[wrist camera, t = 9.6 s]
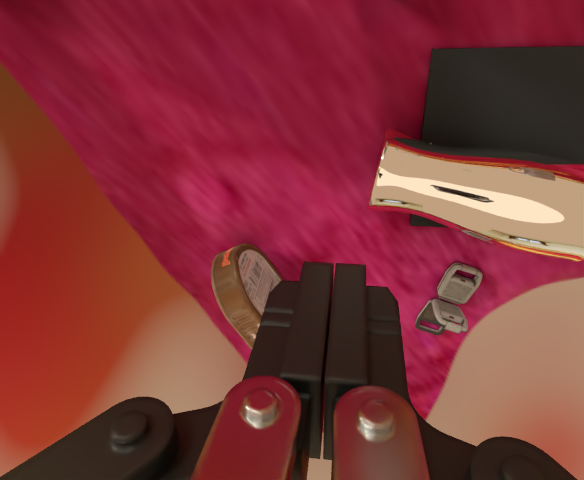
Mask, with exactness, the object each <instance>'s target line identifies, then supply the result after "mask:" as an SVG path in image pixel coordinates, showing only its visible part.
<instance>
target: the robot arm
mask: <svg viewBox="0 0 584 480" xmlns="http://www.w3.org/2000/svg"><path fill="white" fill-rule="evenodd" d="M333 270H334V264H333V263H323V262H306V261H304V263H303V267H302V272H301V276H300V281H299V282H298V281H282V280H281V281H280V282H279V283H278V284H277V285H276V286H275V287H274V288H273V290H272V291H271V292H270V293H269V294H268V298H267V301H266V304H265V308H264V312H263V314H262V318H261V321H260V325H259V328H258V331H257V334H256V338H255V341H254V344H253V348H252V351H251V354H250V358H249V361H248V364H247V368H246V371H245V375H244V377H243V380H242V381H241V382H240V383H238V384H237V385H235V386H234V387H233V388H232V389H231V390H230V391H229V392H228V394H227V395H226V396H225V398H224V400H223V401H221V402H219V403H218V404H215V405H213V406H210V407H206V408H202V409H197V410H192V411H187V412H182V413H177V414H172V412H171V410H170V408H169V407H168V406H167V405H166V404H165V403H164V402H162V401H161V400H159V399H156V398H152V397H136V398H132V399H128V400H125V401H123V402H120V403H118V404H116V405H115V406H113V407H111V408H110V409H108V410H106V411H105V412H103V413H102V414H100V415H99V416H97V417H95V418H94V419H92V420H90V421H89V422H87V423H86V424H84V425H82V426H81V427H79V428H78V429H76V430H74V431H73V432H71V433H70V434H68V435H67V436H65V437H63V438H62V439H60V440H59V441H57V442H55V443H54V444H52V445H51V446H49V447H47V448H46V449H44V450H43V451H41V452H40V453H38V454H36V455H35V456H33V457H31V458H30V459H28V460H27V461H25V462H24V463H22V464H20V465H19V466H17V467H16V468H14V469H13V470H11V471H9V472H8V473H6V474H4V475H3V476H1V477H0V480H307V471H308V461H309V458H317V459H320V453H321V441H322V430H323V419H324V451H323V458H324V459H328V460H332V472H331V480H577V479H576V478H575V477H574V476H573V475H571V474H570V473H569V472H568V471H567V470H566V469H564V468H563V467H562V466H561V465H560V464H558V463H557V462H556V461H555V460H554V459H553V458H551V457H550V456H549V455H548V454H547V453H545V452H544V451H542V450H541V449H539V448H537V447H536V446H534V445H532V444H530V443H528V442H526V441H523V440H520V439H516V438H512V437H493V438H490V439H487V440H485V441H483V442H482V443H480V444H479V445H478V446H477V447H476V446H474V445H472V444H469V443H467V442H464V441H462V440H459V439H456V438H454V437H452V436H449V435H447V434H445V433H442V432H440V431H439V430H437V429H436V428H434V427H432V426H431V425H430V424H428V423H427V422H426V421H425V420H424V419H423V418H422V417H421V416H420V415H419V414H418V412H417V411H416V410H415V408H414V407H413V405H412V403H411V401H410V398H409V394H408V388H407V379H406V370H405V361H404V352H403V343H402V336H401V325H400V316H399V307H398V301H397V300H396V299H395V297H394V296H393V294H392V293H391V292H390V290H389V289H388V287H378V286H366V265H360V264H343V263H336V267H335V278H334V288H333Z"/></svg>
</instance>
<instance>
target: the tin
mask: <svg viewBox="0 0 584 480" xmlns="http://www.w3.org/2000/svg"><path fill="white" fill-rule="evenodd" d="M281 280H282V281H284V280H283V279H282V278H281V276H280V275H279V273H278V272H277V270H276V269H275V268H274V266H273V265H272V264H271V262H270V261H269V259H268V258H267V257H266V256H265V255H264V254H263V252H261V251H260V250H259V249H258V248H257V247H255V246H253V245H251V244H240V245H237V246H235V247H233V248H231V249H229V250H227V251H223V252H220V253H219V254H217V255H216V257H215V258H214V260H213V263H212V267H211V281H212V287H213V291H214V294H215V297H216V300H217V302H218V305H219V307H220V309H221V311H222V312H223V314H224V316H225V317H226V319H227V320H228V321H229V323H230V324H231V325H232V326H233V328H234V329H235V330H236V331H237V332H238V334H239V335H240V336H241V337H242V339H243V340H244V341H245V342H246V343H247V345H248V346H249V347H250V348H251V350H252V348H253V344H254V341H255V338H256V334H257V331H258V328H259V325H260V321H261V318H262V314H263V312H264V308H265V304H266V301H267V298H268V294H269V293H270V292H271V291H272V290H273V288H274V287H275V286H276V285H277V284H278V283H279V282H280V281H281Z"/></svg>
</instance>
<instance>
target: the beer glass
mask: <svg viewBox="0 0 584 480" xmlns="http://www.w3.org/2000/svg"><path fill="white" fill-rule="evenodd" d="M367 209H369V210H376V211H393V212H403V213H409V214H414V215H418V216H421V217H424V218H428V219H430V220H433V221H435V222H438V223H440V224H443V225H445V226H448V227H450V228H452V229H455V230H457V231H459V232H462V233H464V234H467V235H469V236H471V237H474V238H476V239H479V240H482V241H485V242H487V243H490V244H493V245H496V246H500V247H504V248H507V249H511V250H515V251H520V252H525V253H530V254H535V255H541V256H547V257H554V258H560V259H566V260H570V261H581V260H584V165H583V164H580V163H576V162H572V161H569V160H565V159H562V158H557V157H553V156H549V155H545V154H539V153H533V152H528V151H519V150H508V149H492V148H466V147H449V146H442V145H436V144H431V143H427V142H424V141H421V140H418V139H415V138H413V137H410V136H408V135H405V134H403V133H401V132H398V131H395V130H393V129H387V131H386V134H385V137H384V141H383V144H382V148H381V152H380V156H379V159H378V163H377V167H376V171H375V175H374V179H373V183H372V187H371V191H370V195H369V199H368V204H367Z"/></svg>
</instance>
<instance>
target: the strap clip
mask: <svg viewBox="0 0 584 480" xmlns="http://www.w3.org/2000/svg"><path fill="white" fill-rule="evenodd" d="M456 270H462V271H465V272H468V273H471V274H474V275H476V276H475V277H474V279H473V280H472V279H469V278H466V277H463V276H460V275H457V274H454V273H455V271H456ZM481 280H482V272H481V271H480V270H478V269H476V268H473V267H470V266H467V265H464V264H461V263H454V264H452V265H451V266H450V267H449V268H448V269H447V270H446V272H445V274H444V276H443V278H442V279H441V281H440V283H439V285H438V287H437V292H438V295H439V298H441V299H444V300H447V301H450V302H453V303H456V304H459V305H460V304H461V303H466V302H467V301H468V299H469V298H470V297H471V296H472V294H473V293H474V292H475V291H476V289H477V288H478V287H479V285H480V282H481ZM421 320H423V321H426V322H429V323H432V324H435V325H439V326H441V327H440V328H439V330H434V329H431V328H428V327H425V326H422V325H420V324H419V323H420V321H421ZM451 321H453V322H456V323H459V324H462V326H461V325H458V324H455V323H452V322H451ZM415 327H416V328H417V329H419V330H423V331H426V332H429V333H432V334H434V335H440V334H442V333H443V332H444V331H445V330H449V331H452V332H455V333H458V334H459V333H460V331H462V332H467V330H468V321H467V320H466V318H465V316H464V314H463V312H462V310H461V308H460V307H458V306H456V305H454V304H451V303H448V302H445V301H442V300H439V299H436V298H435V299H433V300H429V301H428V302H427V304H426V305H425V307H424V308H423V309H422V311H421V312H420V313H419V315H418V316H417V319H416V322H415Z"/></svg>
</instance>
